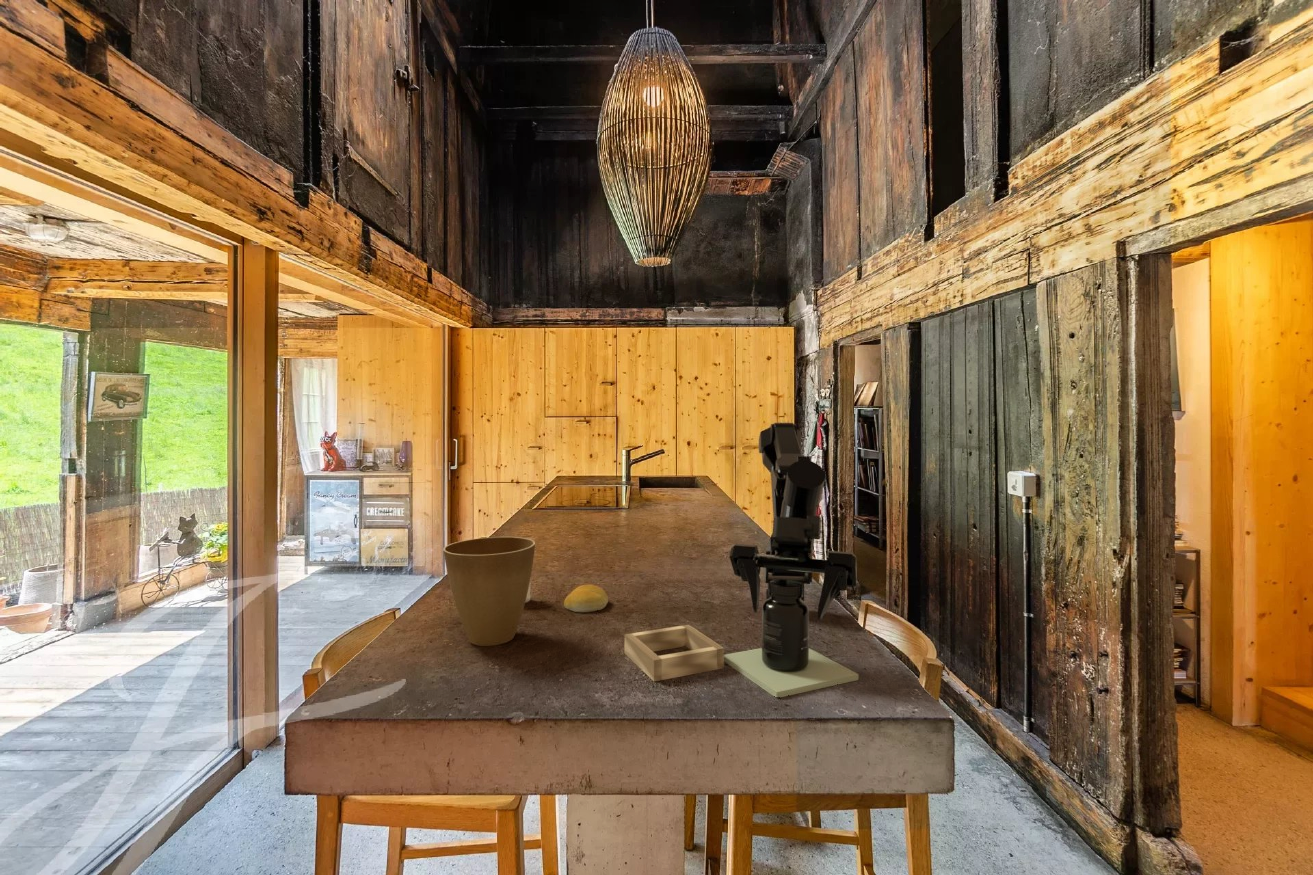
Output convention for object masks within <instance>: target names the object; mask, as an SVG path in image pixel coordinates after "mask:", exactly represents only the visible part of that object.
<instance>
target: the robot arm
mask: <svg viewBox="0 0 1313 875" xmlns="http://www.w3.org/2000/svg"><path fill="white" fill-rule="evenodd" d="M801 434H802V432H801V431H800V430H799V429H798V427H797V424H796V423H793V422H774V423H771V424H770V426H769V427H767V428H765V429H764V430H762V431H760V432H759V436H758V454H761V458H762V459H761V460H762V462H761V463H762V464H763V465H764V468H766V469H767V470H768V472H769V473H770V485H771V498H772V499H771V500H772V513H773V514H772V516H773V523H772V534H771V535H770V537H769V539H768V545H767V550H764V554H763V553H760V552H759V549H758V545H755V544H743V543H742V544H741V543H735V544H734V545H733V546H732V547H731V548H730V553H729V560H730V563H731V567H732V570H733V573H734V574H733V575H735V576H737V577H739V578H741V581H743V582H747V583H748V587H749V592H750V598H751V604H752V608H753V613H755V614H756V613H758V610H759V604H760V592H761V577H760V574H761V568H762V575H763V576H762V577H763V581H764V583H765V584H767V588H766V590H765V592H766V593H765V594H766V595H765V597H766V598H765V601H766V600H767V599H769V598H771V596H770V595H769V583H770V581H772V580H779V579H784V580H793V581H797V582H800V583H802V585H803V590H802V592H803V597H802V598H801V600H802V601H804V602H805V585H811V583H812V582H813V573H815V574H823V581H822V582H823V583H822V586H821V592H820V596H819V600H818V608H817V619H818V620H817V621H821V620H822V618H823V617H824V615H825V614H826V612H827V611H828V609H829V606H831V603H832V601H833V600H834V599H835V598H836V597H837V595H838V594H839V593H840V592H843V591H844V592H845V591H847V590H848V588H854V587H857V583H858V582H857V579H858V578H857V576H858V575H857V572H858V569H857V556H856V555H855V554H854V552H852V551H851V552H849V551H838V550H829V551H828V553H827V559H818V558H814V557H813V556H814V545H815V540H820V539H821V532H822V530H821V529H822V528H821V526H822V525H821V524H822V523H821V521H822V518H821V516H820V515H817V513H818V507H819V505H820V503H821V499H822V494H823V488H824V487H825V486H826V471H825V470H824V469H823V468H822V467H821V465H819V464H818V463H816V462H813V461H812V460H811V457H810V455H808V456H806V455H805V456H803V453H802V451H801V450H802V436H801Z"/></svg>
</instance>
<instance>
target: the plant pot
mask: <svg viewBox="0 0 1313 875" xmlns="http://www.w3.org/2000/svg"><path fill="white" fill-rule="evenodd" d="M535 548H536V542H535V540H533V539H531V538H527V537H521V536H519V537H518V536H490V537H479V538H478V537H477V538H471V539H465V540H460V541H456V542H452V543H449V544H448V545H445V546H444V547H443V548H442V549H443V550H442V552H443V556H444V561H445V568H446V573H447V577H448V582H449V587H450V590H451V594H452V598H453V601H454V605H455V607H456V610H457V613H458V616H459V618H460V621H461V625H462V627H463V629H464V632H465V634H466V636H467V638H468V641H469V642H470V644H472V645H475V646H480V647H490V646H499V645H502V644H506V643H508V642H510V641H512V640H513V639H514V638H515V637H516V636H515V635H516V633H517V630H518V628H519V624H520V622H521V619H522V615H523V613H524V607H525V605H526V603H525V601H526V597H527V593H528V588H529V583H530V584H531V578H532V574H533V573H532V571H533V566H534V560H535V559H534V558H535V551H536V550H535Z"/></svg>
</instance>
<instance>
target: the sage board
mask: <svg viewBox="0 0 1313 875" xmlns="http://www.w3.org/2000/svg"><path fill="white" fill-rule="evenodd" d="M724 663H725V664H727V665H729V666H730V667H732V668H733V669H735V671H737V672H739V674H742V675H743V676H744V677H745V678H747V679H748V680H750V681H751V682H753V683H754V684H755V685H756V686H758V687H760V688H761V689H763V690H764V691H766V692H767V693H769V695H771V696H773V697H774V696H775V697H780V698H784V697H788V695H789V696H793V695H797V694H802V693H806V692H812V691H815V690H819V689H824V688H828V687H832V686H833V687H834V686H838V685H841V684H845V683H846V684H847V683H850V682H855V681H858V680H859V673H857V672H855V671H853V670H851V669H849V668H847V667H845V666H844V665H843V664H840V663H838V662H836V661H834V660H832V659H830V658H828V657H826V656H825V655H823V654H821V653H820V652H817V651H815V650H813V649H811V648H810V647H809V662H808V665H807V667H806V668H805V669H803V670H800V671H793V672H787V671H779V670H775V669H772V668H770V667H768V666H766V665H765V664H764V663H763V661H762V647H759V648H754V649H750V650H743V651H738V652H737V651H736V652H732V653H726V654H725V653H724ZM837 684H838V685H837ZM775 697H774V698H775Z"/></svg>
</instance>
